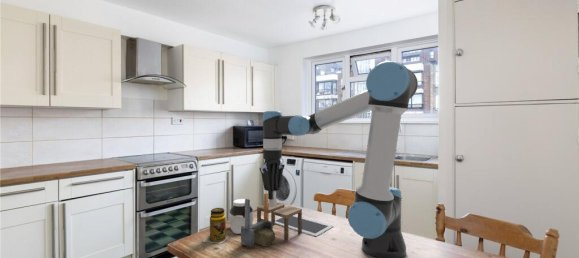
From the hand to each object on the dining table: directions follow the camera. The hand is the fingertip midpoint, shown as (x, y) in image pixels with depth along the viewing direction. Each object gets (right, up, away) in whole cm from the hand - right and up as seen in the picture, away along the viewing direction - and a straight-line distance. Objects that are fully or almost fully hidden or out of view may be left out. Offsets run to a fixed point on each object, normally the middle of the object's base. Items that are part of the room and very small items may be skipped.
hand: (272, 206), depth 111 cm
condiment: (-22, -12, -3) cm, 26 cm away
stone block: (-5, -12, -5) cm, 14 cm away
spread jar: (-14, -12, +7) cm, 20 cm away
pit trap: (+12, -12, +12) cm, 21 cm away
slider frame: (-6, -12, -6) cm, 15 cm away
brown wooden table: (+3, -12, +4) cm, 13 cm away
